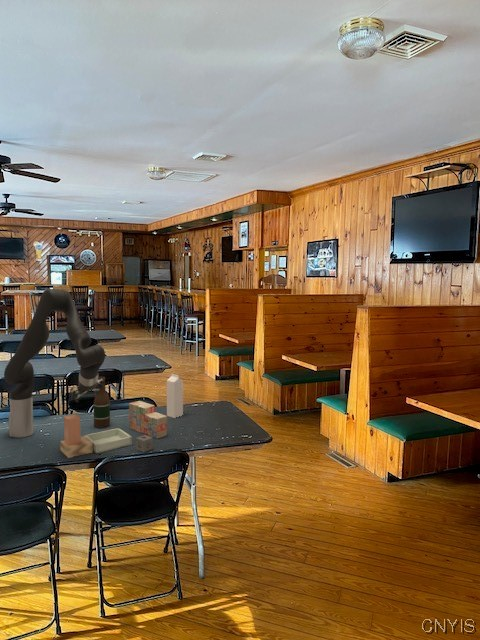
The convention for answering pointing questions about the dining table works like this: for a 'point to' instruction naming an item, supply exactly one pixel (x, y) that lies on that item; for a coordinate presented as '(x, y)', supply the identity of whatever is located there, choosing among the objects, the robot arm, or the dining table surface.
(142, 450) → the dice cube
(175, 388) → the milk
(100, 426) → the beer bottle
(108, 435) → the tray
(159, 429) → the stack of blocks
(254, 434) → the dining table surface
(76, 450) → the cream wooden slab
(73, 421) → the terracotta block
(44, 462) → the dining table surface
